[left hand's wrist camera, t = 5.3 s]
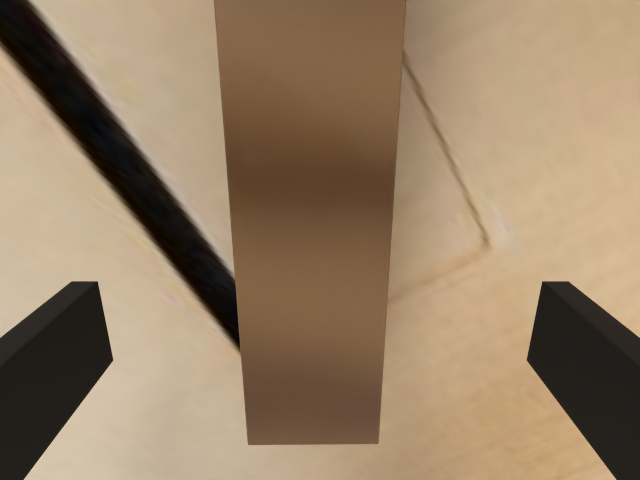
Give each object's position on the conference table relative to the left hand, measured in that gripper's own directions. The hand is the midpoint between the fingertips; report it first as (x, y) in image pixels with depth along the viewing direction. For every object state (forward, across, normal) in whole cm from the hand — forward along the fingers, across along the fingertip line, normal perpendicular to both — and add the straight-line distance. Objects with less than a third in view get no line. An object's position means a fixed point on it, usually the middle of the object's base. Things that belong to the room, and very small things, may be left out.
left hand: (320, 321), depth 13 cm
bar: (+10, 0, -23) cm, 25 cm away
